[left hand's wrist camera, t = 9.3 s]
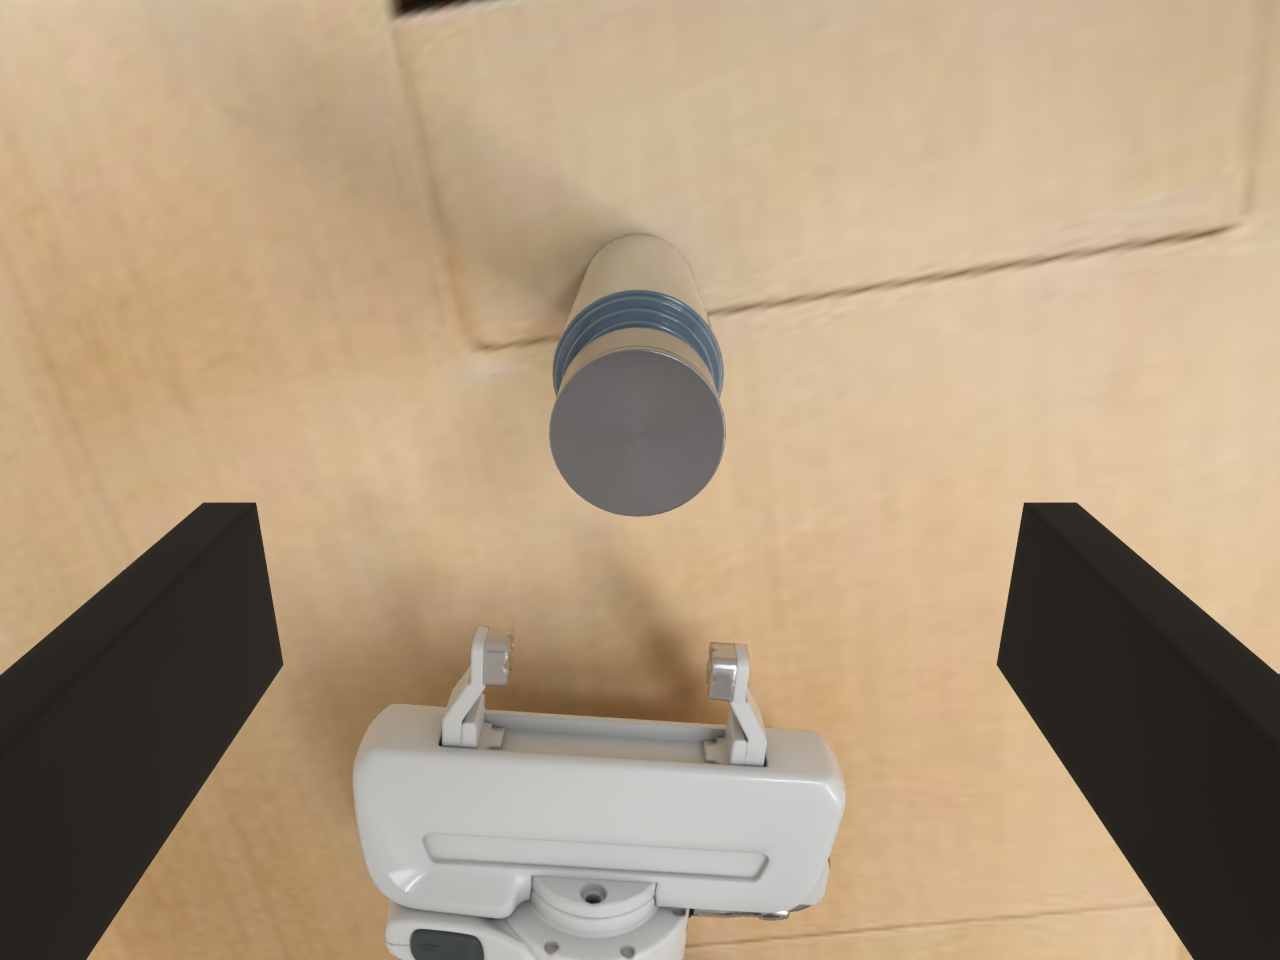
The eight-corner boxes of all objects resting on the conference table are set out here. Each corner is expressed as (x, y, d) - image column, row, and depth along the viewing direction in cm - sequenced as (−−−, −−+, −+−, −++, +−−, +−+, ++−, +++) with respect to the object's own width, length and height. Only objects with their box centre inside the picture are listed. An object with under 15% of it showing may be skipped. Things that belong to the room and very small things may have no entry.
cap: (538, 350, 21) (526, 374, 19) (696, 308, 21) (703, 328, 19) (583, 496, 23) (577, 534, 21) (733, 459, 22) (742, 494, 20)
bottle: (568, 251, 37) (505, 357, 19) (680, 220, 36) (715, 301, 19) (600, 359, 38) (567, 546, 21) (706, 332, 38) (761, 499, 21)
